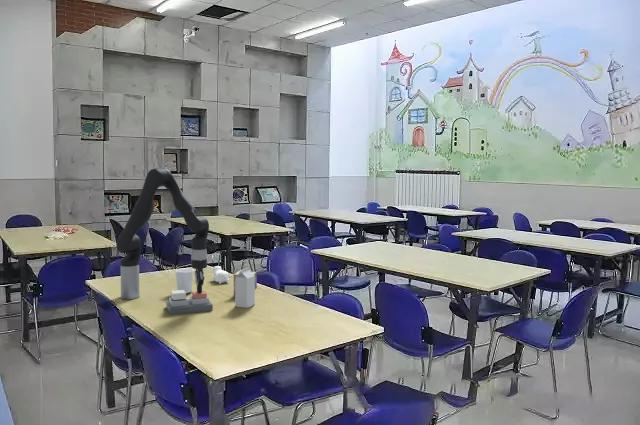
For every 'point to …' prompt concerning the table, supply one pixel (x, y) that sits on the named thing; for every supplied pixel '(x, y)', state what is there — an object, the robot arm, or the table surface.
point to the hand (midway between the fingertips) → (199, 292)
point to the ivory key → (178, 294)
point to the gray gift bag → (238, 273)
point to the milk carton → (245, 289)
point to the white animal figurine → (220, 275)
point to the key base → (188, 305)
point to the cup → (184, 279)
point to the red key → (199, 295)
